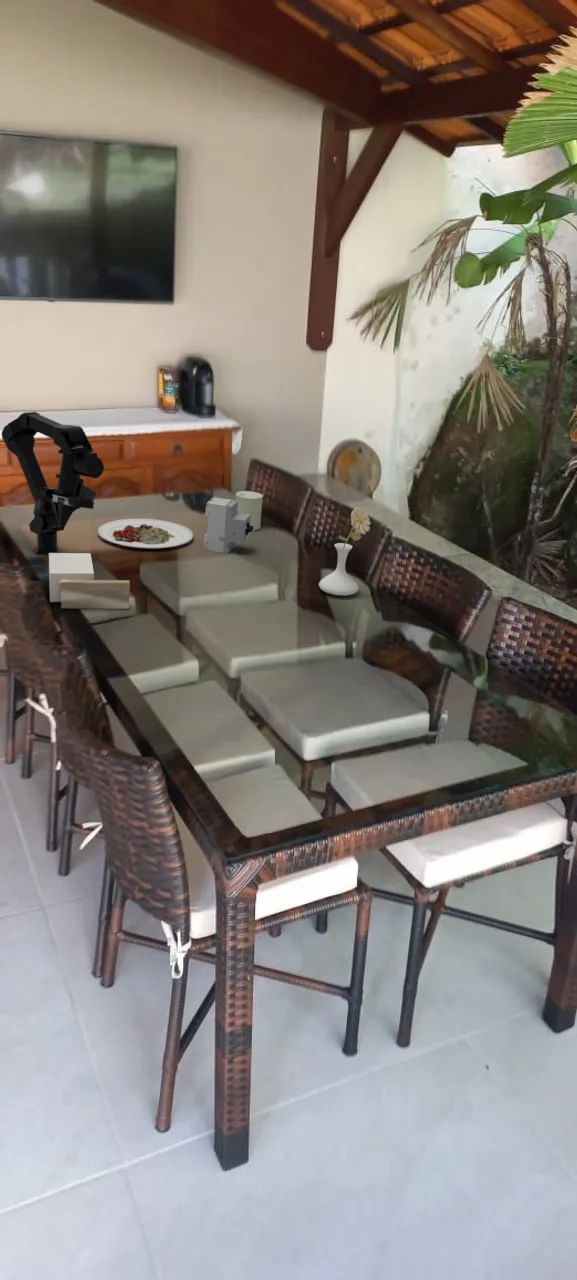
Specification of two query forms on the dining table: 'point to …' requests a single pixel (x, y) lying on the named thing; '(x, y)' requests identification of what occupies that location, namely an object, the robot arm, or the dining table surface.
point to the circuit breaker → (225, 525)
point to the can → (250, 506)
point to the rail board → (95, 594)
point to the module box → (68, 570)
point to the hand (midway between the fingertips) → (61, 528)
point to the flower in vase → (339, 578)
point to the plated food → (145, 533)
